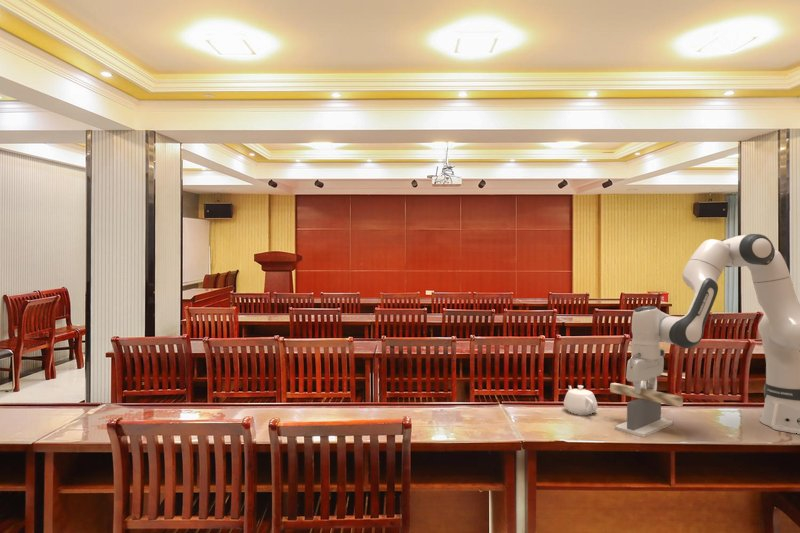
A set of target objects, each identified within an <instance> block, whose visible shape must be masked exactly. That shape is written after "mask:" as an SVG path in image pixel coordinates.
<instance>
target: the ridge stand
mask: <svg viewBox="0 0 800 533" xmlns="http://www.w3.org/2000/svg"><path fill="white" fill-rule="evenodd" d="M626 403H627V404H626V421H625V422H622V423H619V424H617V425H614V430H616V431H620V432H624V433H627V434H631V435H634V436H638V437H641V438H645V437H648V436H649V435H652V434H654V433H657V432H658V431H661V430H663V429H665V428H668V427H670V426H672V425H674V421H673V420H669V419H665V418H662V403H658V402H654V401H649V400H644V399H640V398H635V399H634V400H630V401H628V402H626Z"/></svg>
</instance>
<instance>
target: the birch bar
mask: <svg viewBox="0 0 800 533" xmlns="http://www.w3.org/2000/svg"><path fill="white" fill-rule="evenodd" d="M609 385H610V386H609V391H610V393H614V394H617V395H622V396H626V397H632V398H635V399H639V398H640V399H644V400H649V401H654V402H658V403H661V404H662V405H668V406H672V407H676V408H680V407H683V405H684V403H683V402H684V397H683V396H681V395H676V394H672V393H667V392H662V391H657V390H656V391H653V390H648V389H643V388H642V393H640V394H637V393H635V388H634V385H627V384H623V383H617V382H611V383H610V384H609Z"/></svg>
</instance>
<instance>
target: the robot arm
mask: <svg viewBox="0 0 800 533" xmlns="http://www.w3.org/2000/svg"><path fill="white" fill-rule="evenodd" d="M732 267H738V268H739V267H747V268H748V270H749V271H750V275H751V280H752V283H753V287H754V290H755V291H754V292H755V294H756V297H757V302H758V305H759V306H761V309H762V310H763V312H764V314H765V315H766V317H763V318H762V319H761V320H760V321H759V323H758V325H757V327H758V328H757V329H758V333H759V335H760V337H761V341H762V347H763V353H764V357H765V365H766V366H765V377H766V378H765V383H764V386H763V395H764V404H763V405H764V406H763V410H762V414H761V417H760V419H759V421H760V423H762V424H763V425H766V426H768V427H770V428H771V429H773V430H775V431H780V432H786V433H791V434H796V433H797V435H800V301H799V300H798V298H797V295H796V290H795V287H794V285H793V281H792V278H791V275H790V274H791V273H790V270H789V268H788V266H787V263H786V260H785V259H784V257H783V255H782V254H781V252H780V251H779V250H777V249H775V247H774V244H773V243H772V241H771V239H770V238H769V237H767V236H766V235H764V234H760V233H749V234H743V235H742V234H741V235H736V236H733V237H730V238H725V239H722V240H719V239H716V238H715V239H714V238H709V239H706V240H704V241H703V242H701V244H700V245H699V246H698V247H697V248H696V249H695V251H694V252H693V254H692V255H691V256H690V258H689V259H688V261H687V263H686V264H685V266H684V268H683V271H682V274H681V275H682V280H683V282H684V284H685V285H686V286H687V287H688V288H689V289H691V290H693V292H694V296H693V299H692V301H691V303H690V306H689V307H688V310H687V312H686V314H685V315H684V316H681V317H680V316H674V315H671V314H668V313H665V312H663V311H661V310H660V309H658V307H657V306H653V305H642V306H639V307H636V308H634V310H633V313H632V316H631V334H632V339H631V348H630V350H631V357H630V358H629V359H628V360H627V364H626V373H625V374H626V375H625V378H626V380H627V382H631V383H632V386H633V387H634V388H635V393H637V394H640V393H642V388H641V387H640V384H641V381H643V380H647V379H649V384H648V389H651V390H652V389H654V388H655V382H656V376H657V377H659V376H662V375H663V372H664V365H665V364H664V363H665V360H664V357H665V355H666V351H665V349H663V348H661V347H660V342H664V343H667V344H670V345H675V346H677V347H680V348H682V349H692V348H694V347H696V346H698V345H699V344H700V342H701V341H702V339H703V336H704V331H705V325H706V322H707V321H708V318H709V315H710V313H711V311H712V307H713V305H714V303H715V301H716V298H717V295H718V291H719V286H718V281H719V278H720V277H721V274H722V273H723V271H724V270H725V268H732Z"/></svg>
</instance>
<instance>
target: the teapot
mask: <svg viewBox="0 0 800 533" xmlns="http://www.w3.org/2000/svg"><path fill="white" fill-rule="evenodd" d="M583 388H584V385H581V384H580V385H579V384H578V385H577V388H572V385H568V390H567V392H566V394H565V397H564V398H563V399H564V400H563V406H564V408H565V409H566V410H567V411H568V413H570V412H571V414H573V413H574V415H576V414H578V415H577V416H590V415H589V414H591V415H593V414H594V413H595V412H596V411H597V410H598V406H599V405H598V402H597V399H596V397H595V394H594V393H593V392H592V391H591V390H588V389H583ZM592 413H593V414H592Z"/></svg>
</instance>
